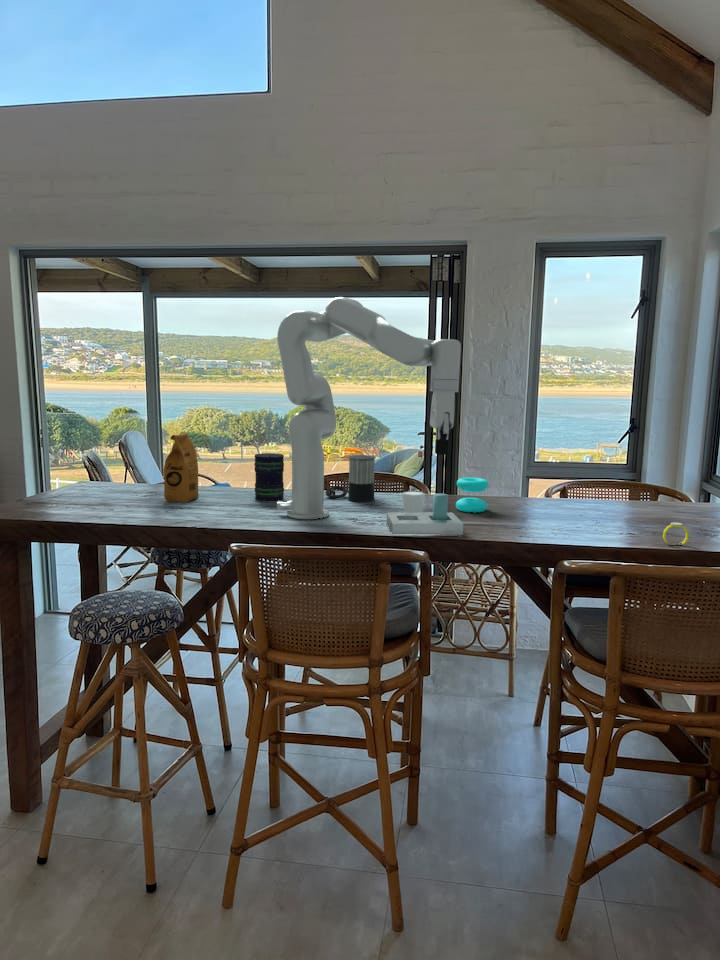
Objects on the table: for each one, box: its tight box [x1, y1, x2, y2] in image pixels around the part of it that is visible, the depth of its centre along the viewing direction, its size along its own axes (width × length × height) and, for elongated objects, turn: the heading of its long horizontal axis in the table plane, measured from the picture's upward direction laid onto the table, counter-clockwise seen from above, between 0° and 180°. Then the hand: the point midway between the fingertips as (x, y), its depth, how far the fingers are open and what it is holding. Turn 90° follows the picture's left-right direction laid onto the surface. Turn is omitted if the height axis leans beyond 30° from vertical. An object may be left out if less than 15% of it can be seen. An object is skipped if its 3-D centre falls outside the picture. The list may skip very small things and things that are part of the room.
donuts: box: [455, 476, 489, 514], centre depth 214 cm, size 10×10×10 cm
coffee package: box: [163, 431, 200, 503], centre depth 222 cm, size 10×12×22 cm
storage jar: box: [254, 452, 285, 503], centre depth 226 cm, size 10×10×15 cm
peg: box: [432, 493, 449, 520], centre depth 186 cm, size 4×4×10 cm
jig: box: [386, 511, 464, 536], centre depth 186 cm, size 19×14×4 cm
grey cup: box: [402, 490, 426, 512], centre depth 204 cm, size 7×7×7 cm
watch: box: [662, 522, 690, 545], centre depth 174 cm, size 6×3×6 cm, turn 82°
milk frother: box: [325, 454, 376, 503], centre depth 228 cm, size 14×16×15 cm
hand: (441, 453), depth 183 cm, fingers closed
